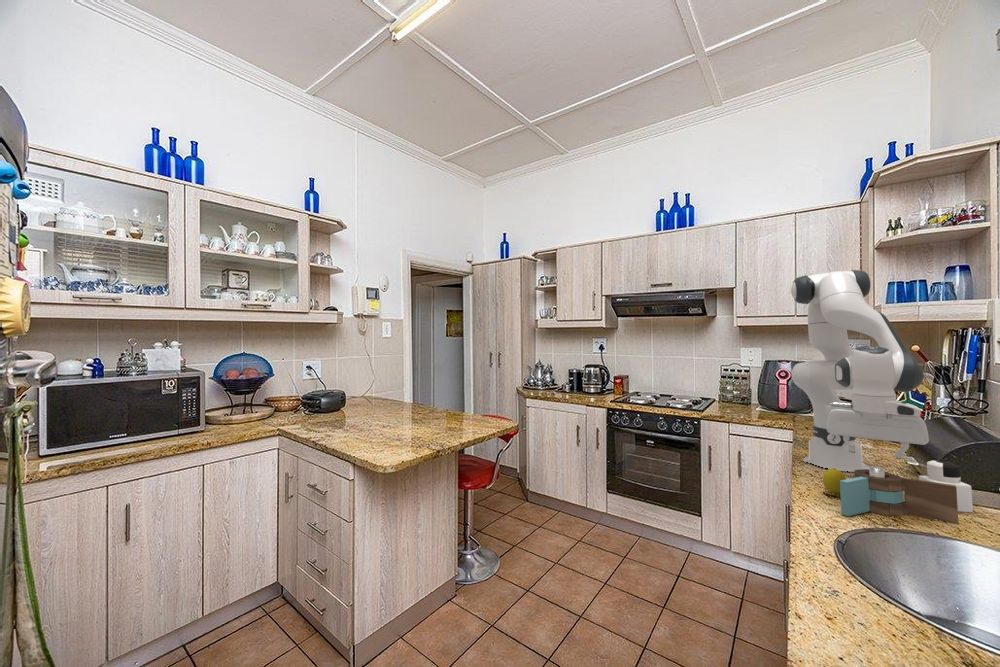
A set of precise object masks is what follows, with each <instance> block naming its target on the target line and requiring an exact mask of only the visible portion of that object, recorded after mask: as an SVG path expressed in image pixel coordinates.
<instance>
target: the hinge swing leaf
mask: <svg viewBox="0 0 1000 667" xmlns="http://www.w3.org/2000/svg"><path fill="white" fill-rule="evenodd" d="M869 500H872V501H876V502H883V503H892V504H897V503H901V502H904V501H905V500H904V490H902V491H891V492H889V491H882V490H876V489H870V488H869V483H868V478H866V477H862V476H861V477H856V478H855V477H852V478H851V477H850V478H846V480H840V514H841V515H843V516H846V517H851V516H855V515H859V514H863V513H869V511H870V502H869Z"/></svg>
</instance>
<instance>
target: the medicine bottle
mask: <svg viewBox="0 0 1000 667" xmlns="http://www.w3.org/2000/svg"><path fill="white" fill-rule="evenodd" d="M926 471H927V472H926V473H927V475H923V474H922V475H918V480H923V481H929V482H936V483H943V484H950V485H955V486H956V489H957V506H958V513H959V512H961V513H962V512H963V513H970V514H971V513H973V512H974V509H973V508H974V507H973V491H972V485H970V484H967V483H966V482H962V481H961V478H962V477H961V467H960V466H959V465H958V464H956V463H954V462H949V461H945V460H930V461H927V462H926Z"/></svg>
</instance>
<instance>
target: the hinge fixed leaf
mask: <svg viewBox="0 0 1000 667" xmlns="http://www.w3.org/2000/svg"><path fill="white" fill-rule="evenodd" d="M884 473H885V478H881V477H874V476H870V474H869V470H868V469H862V470H855V472H854V478H856V477H861V476H862V477H866V478H868V483H869V488H870V489H876V490H882V491H889V492H891V491H902V490H903V493H904V500H903V501H904V502H901V503H897V504H892V503H883V502H876V501H872V500H869V502H870V513H874V514H879V515H884V514H885V515H884V516H890V517H891V516H904V515H908V516H909V515H910V516H915V517H918V518H925V519H929V518H930V519H931V520H934V519H937V520H936V521H940V520H942V521H941V522H945V521H947V523H951V522H952V523H953V524H956V523H957V525H958V524H959V511H958V506H957V489H956V486H955V485H950V484H943V483H936V482H929V481H923V480H919V479H915V478H908V477H902V476H901V477H900V475H897V474H894V473H889V472H886V471H884Z"/></svg>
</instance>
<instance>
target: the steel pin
mask: <svg viewBox="0 0 1000 667" xmlns="http://www.w3.org/2000/svg"><path fill="white" fill-rule="evenodd" d="M868 467H869V474H870V476H874V477H881V478H885V473H884V472H885V468H884V467H881V466H876V465H875V466H874V465H869V466H868Z"/></svg>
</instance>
